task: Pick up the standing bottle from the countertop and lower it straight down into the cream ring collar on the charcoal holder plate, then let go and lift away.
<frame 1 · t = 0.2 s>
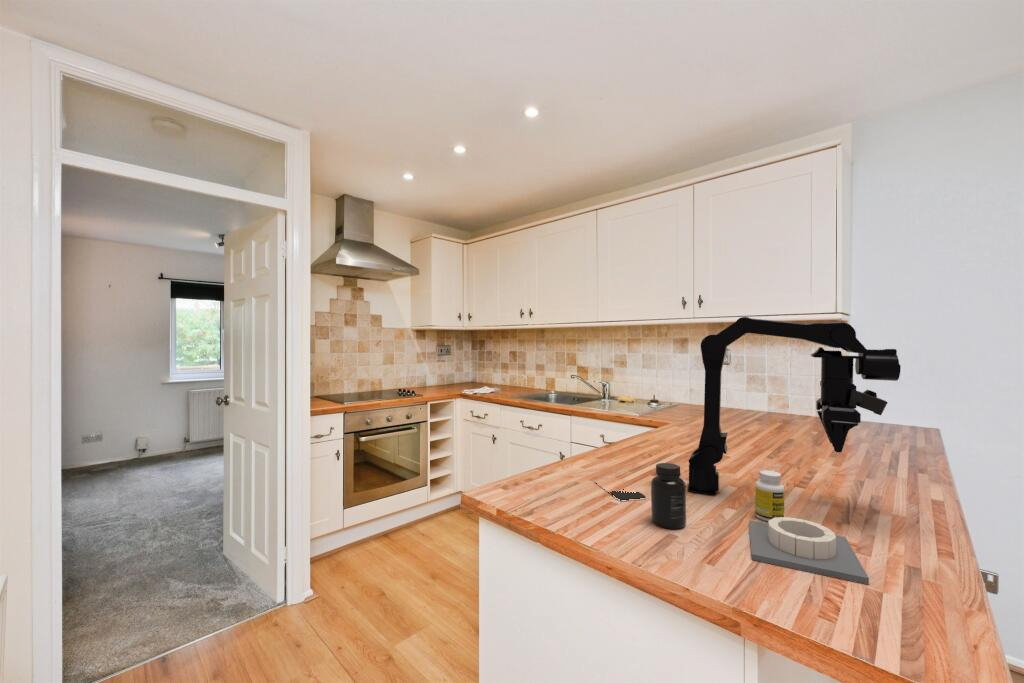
hand: (835, 447, 96), 14 cm above the counter, tool pointing down, fingers open, 9 cm apart
bottle holder: (800, 550, 78), on the counter
supplement bottle: (668, 523, 89), on the counter
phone: (618, 491, 109), on the counter
supplement bottle 2: (769, 519, 92), on the counter
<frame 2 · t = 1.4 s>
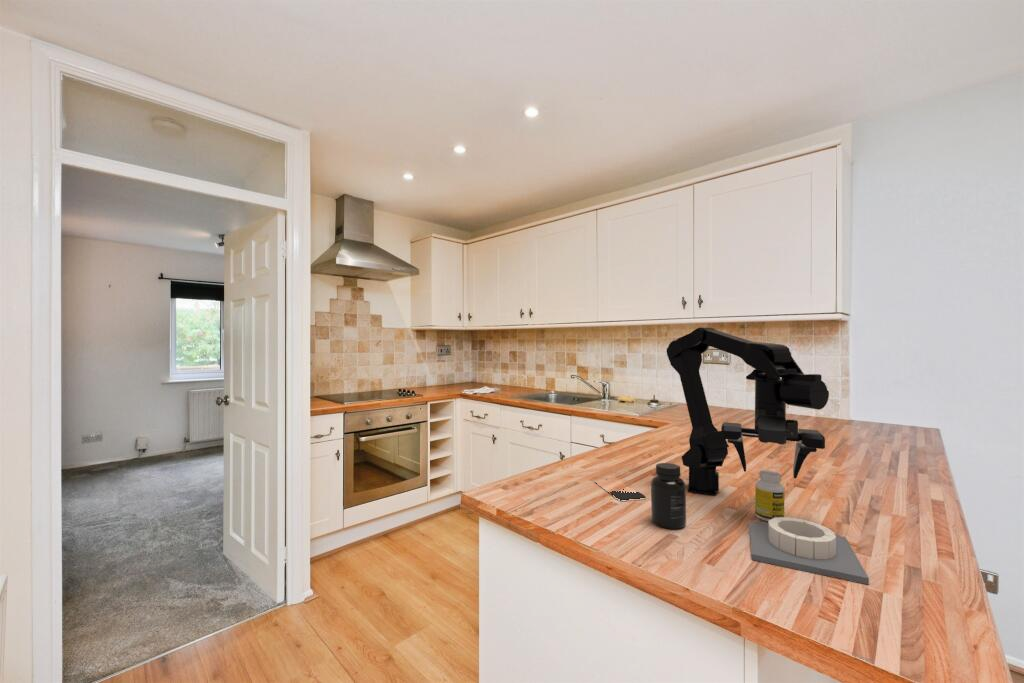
hand: (769, 474, 92), 9 cm above the counter, tool pointing down, fingers open, 9 cm apart
nothing on the counter moved.
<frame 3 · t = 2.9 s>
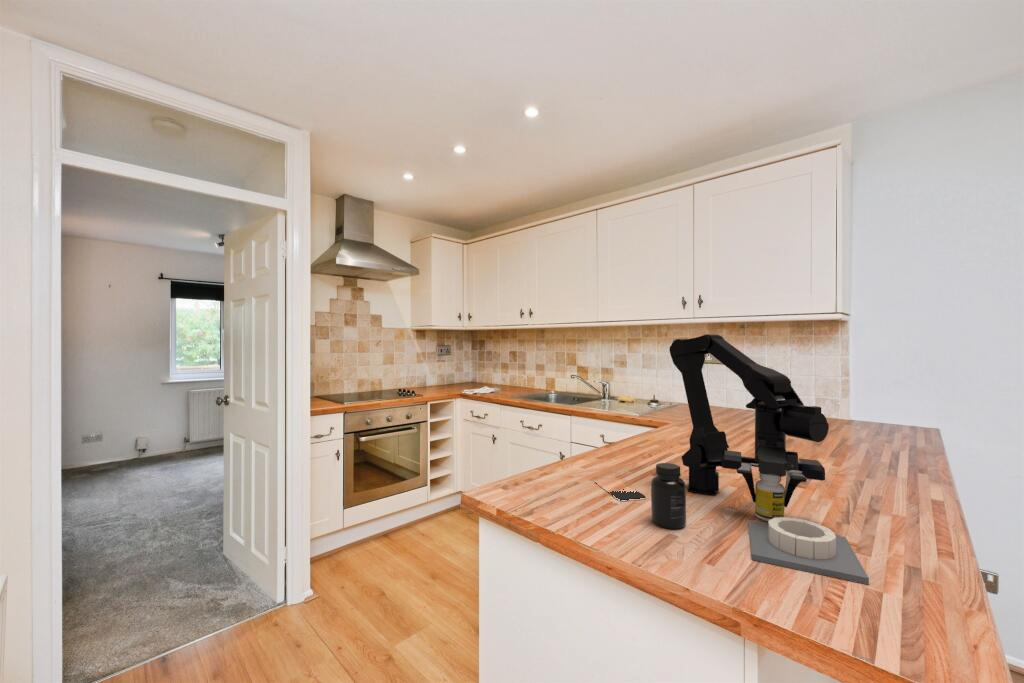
hand: (769, 504, 92), 3 cm above the counter, tool pointing down, fingers closed on supplement bottle 2, 5 cm apart
supplement bottle 2: (769, 519, 92), on the counter, touching gripper
everything else where it was.
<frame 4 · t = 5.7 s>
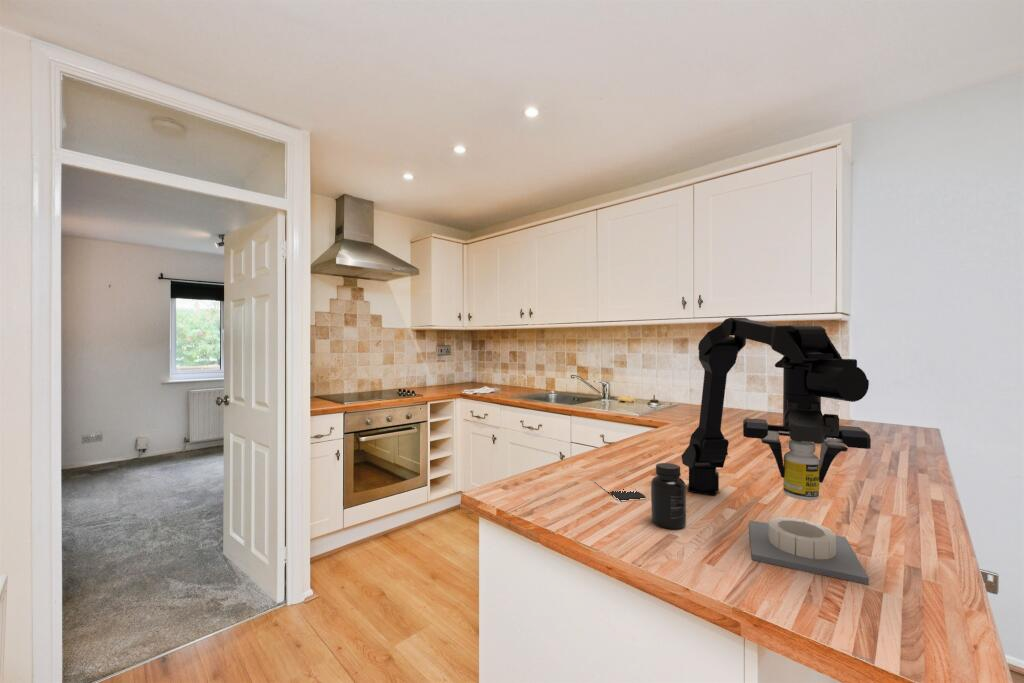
hand: (801, 479, 78), 13 cm above the counter, tool pointing down, fingers closed on supplement bottle 2, 5 cm apart
supplement bottle 2: (801, 497, 78), point 10 cm above the counter, touching gripper
everything else where it was.
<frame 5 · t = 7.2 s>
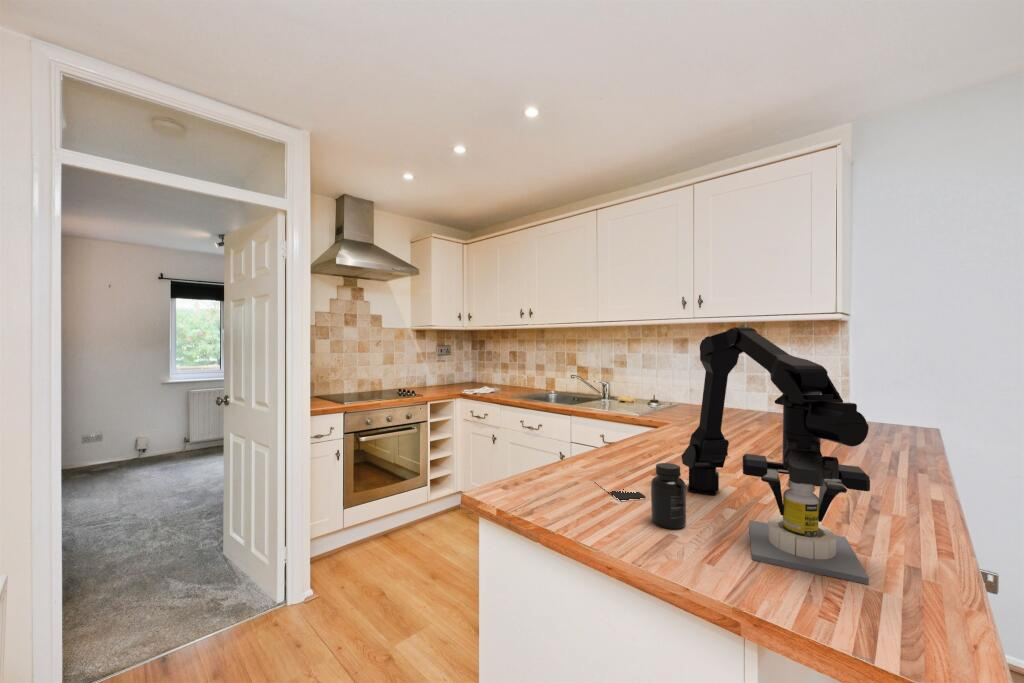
hand: (800, 517, 78), 6 cm above the counter, tool pointing down, fingers closed on supplement bottle 2, 5 cm apart
supplement bottle 2: (800, 535, 78), point 3 cm above the counter, touching gripper
everything else where it was.
when the fingers open (5 cm above the counter, at t = 8.5 s): supplement bottle 2 drops 1 cm, resting on bottle holder.
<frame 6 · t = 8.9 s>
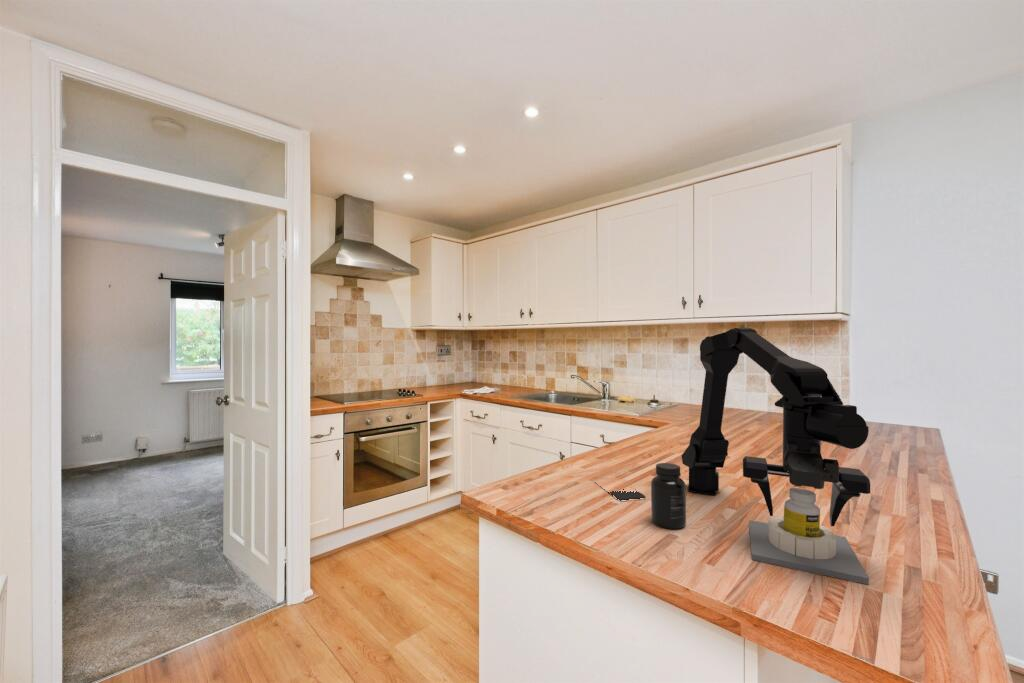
hand: (800, 520, 78), 5 cm above the counter, tool pointing down, fingers open, 9 cm apart
supplement bottle 2: (800, 545, 78), point 1 cm above the counter, touching bottle holder
everything else where it was.
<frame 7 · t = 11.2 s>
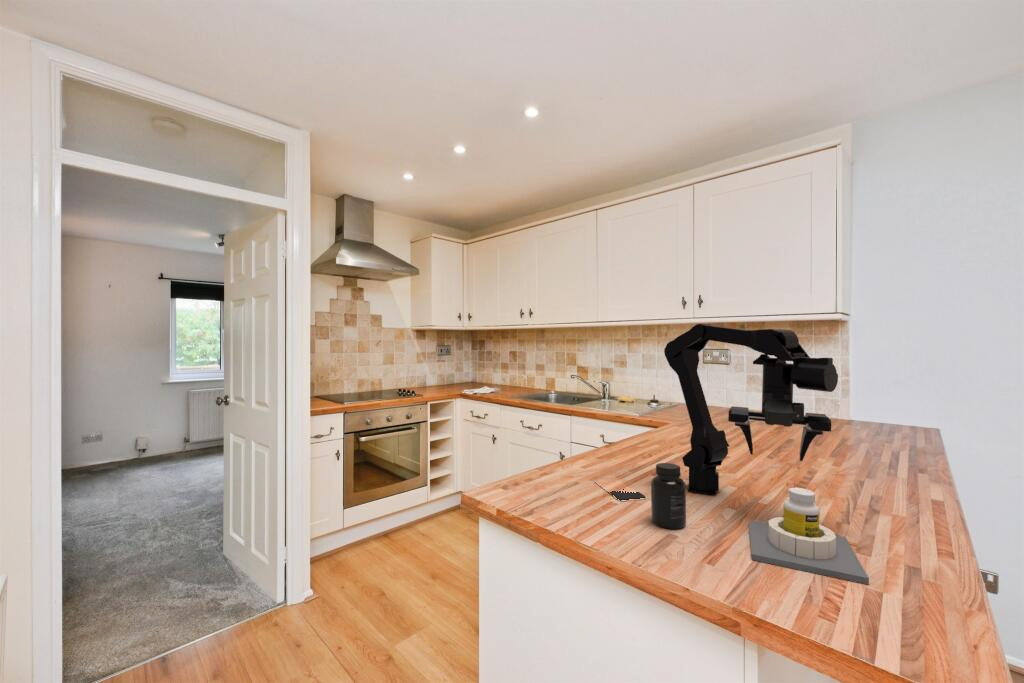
hand: (775, 457, 93), 13 cm above the counter, tool pointing down, fingers open, 9 cm apart
nothing on the counter moved.
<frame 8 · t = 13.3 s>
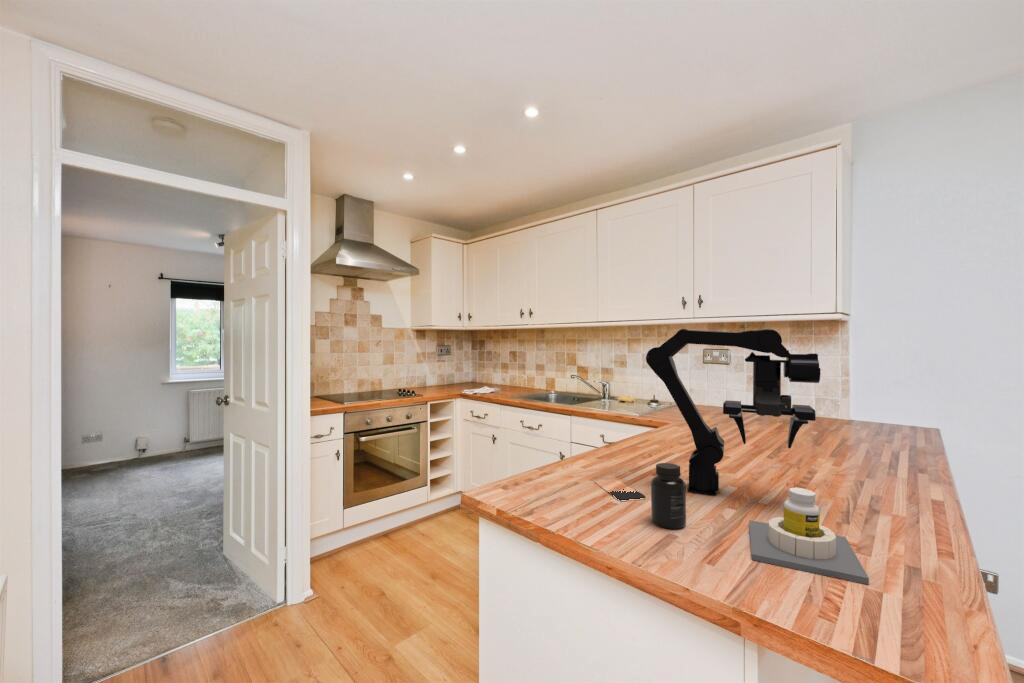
hand: (766, 445, 102), 13 cm above the counter, tool pointing down, fingers open, 9 cm apart
nothing on the counter moved.
at the end: supplement bottle 2 0.1 cm off-centre on the bottle holder, point 0.8 cm above the bottle holder's base; supplement bottle 2 tilted 0°; the gripper is holding nothing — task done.
